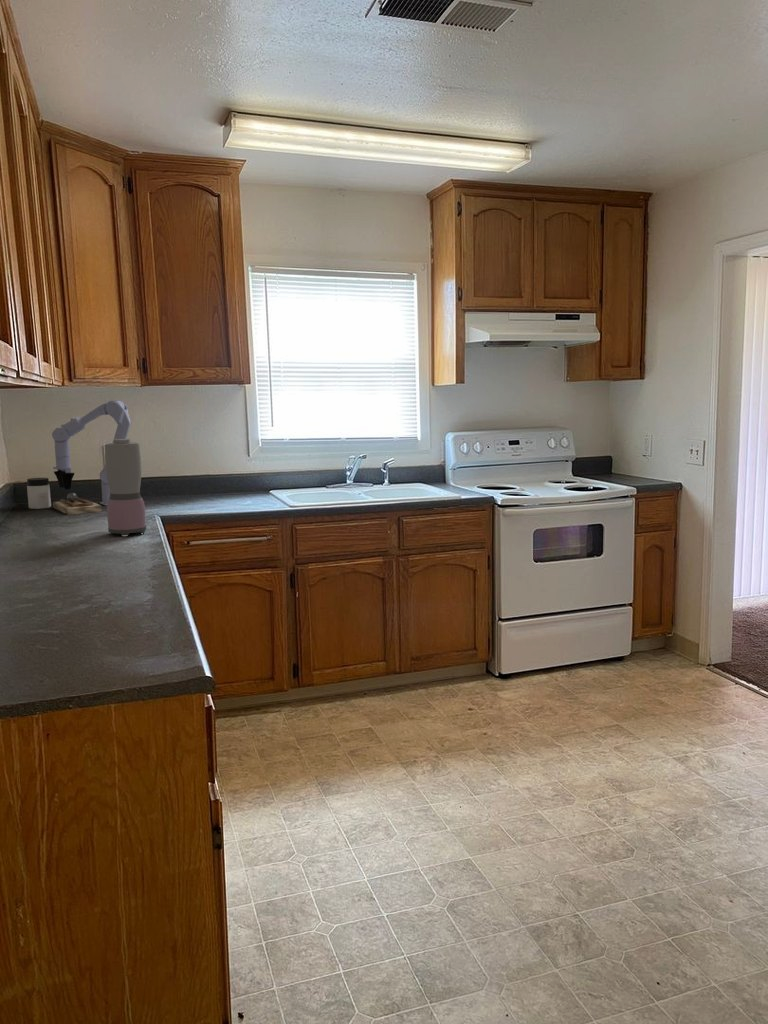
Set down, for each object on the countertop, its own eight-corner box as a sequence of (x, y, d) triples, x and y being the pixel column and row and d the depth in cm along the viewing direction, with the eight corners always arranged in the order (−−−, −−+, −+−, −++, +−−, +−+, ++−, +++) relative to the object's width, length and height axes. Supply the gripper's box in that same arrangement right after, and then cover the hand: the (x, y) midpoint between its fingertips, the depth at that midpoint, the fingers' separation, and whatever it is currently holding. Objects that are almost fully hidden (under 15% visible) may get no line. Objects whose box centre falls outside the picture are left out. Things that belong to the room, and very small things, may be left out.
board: (85, 504, 318) (85, 496, 318) (101, 511, 301) (101, 503, 300) (53, 507, 311) (52, 499, 310) (67, 514, 293) (67, 506, 293)
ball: (76, 501, 313) (75, 491, 312) (79, 502, 310) (78, 492, 309) (66, 501, 310) (65, 492, 310) (68, 503, 307) (68, 493, 307)
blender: (153, 533, 255) (147, 439, 249) (118, 538, 246) (112, 441, 241) (131, 527, 266) (126, 437, 260) (98, 532, 257) (91, 439, 252)
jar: (32, 509, 306) (30, 480, 304) (25, 507, 312) (23, 478, 310) (54, 507, 312) (52, 478, 310) (47, 505, 318) (45, 477, 316)
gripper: (48, 455, 318) (50, 487, 320) (57, 458, 307) (59, 490, 309) (65, 454, 322) (67, 486, 325) (75, 457, 311) (77, 489, 313)
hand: (65, 488), depth 317 cm, fingers open, 7 cm apart
